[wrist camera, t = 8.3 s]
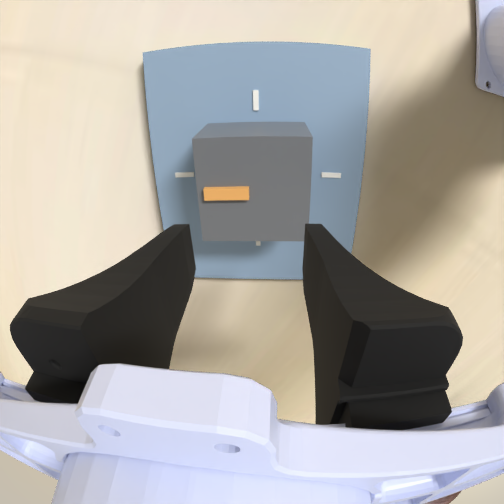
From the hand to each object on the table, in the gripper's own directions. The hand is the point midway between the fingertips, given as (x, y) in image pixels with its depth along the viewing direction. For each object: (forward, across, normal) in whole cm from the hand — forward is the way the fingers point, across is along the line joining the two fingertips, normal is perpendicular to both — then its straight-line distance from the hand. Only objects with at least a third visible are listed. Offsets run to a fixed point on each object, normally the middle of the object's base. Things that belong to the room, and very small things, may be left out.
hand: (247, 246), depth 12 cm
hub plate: (+9, 0, 0) cm, 9 cm away
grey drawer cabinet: (+8, 0, 0) cm, 8 cm away
